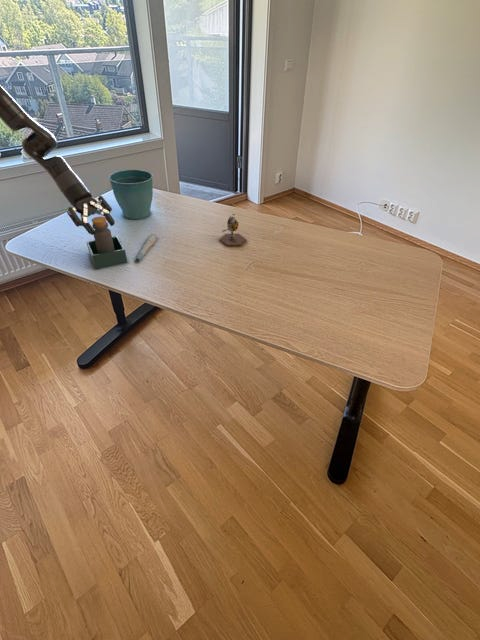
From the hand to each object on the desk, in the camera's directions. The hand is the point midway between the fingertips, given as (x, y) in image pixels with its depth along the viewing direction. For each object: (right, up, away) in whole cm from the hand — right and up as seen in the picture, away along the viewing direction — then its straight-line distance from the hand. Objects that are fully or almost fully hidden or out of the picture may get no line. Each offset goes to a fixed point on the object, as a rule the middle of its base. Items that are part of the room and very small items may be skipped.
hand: (103, 229), depth 119 cm
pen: (+11, -4, +15) cm, 19 cm away
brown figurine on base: (+44, +1, +24) cm, 50 cm away
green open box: (-2, -9, +9) cm, 12 cm away
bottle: (-2, -8, +8) cm, 12 cm away
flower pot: (0, +17, +39) cm, 42 cm away
